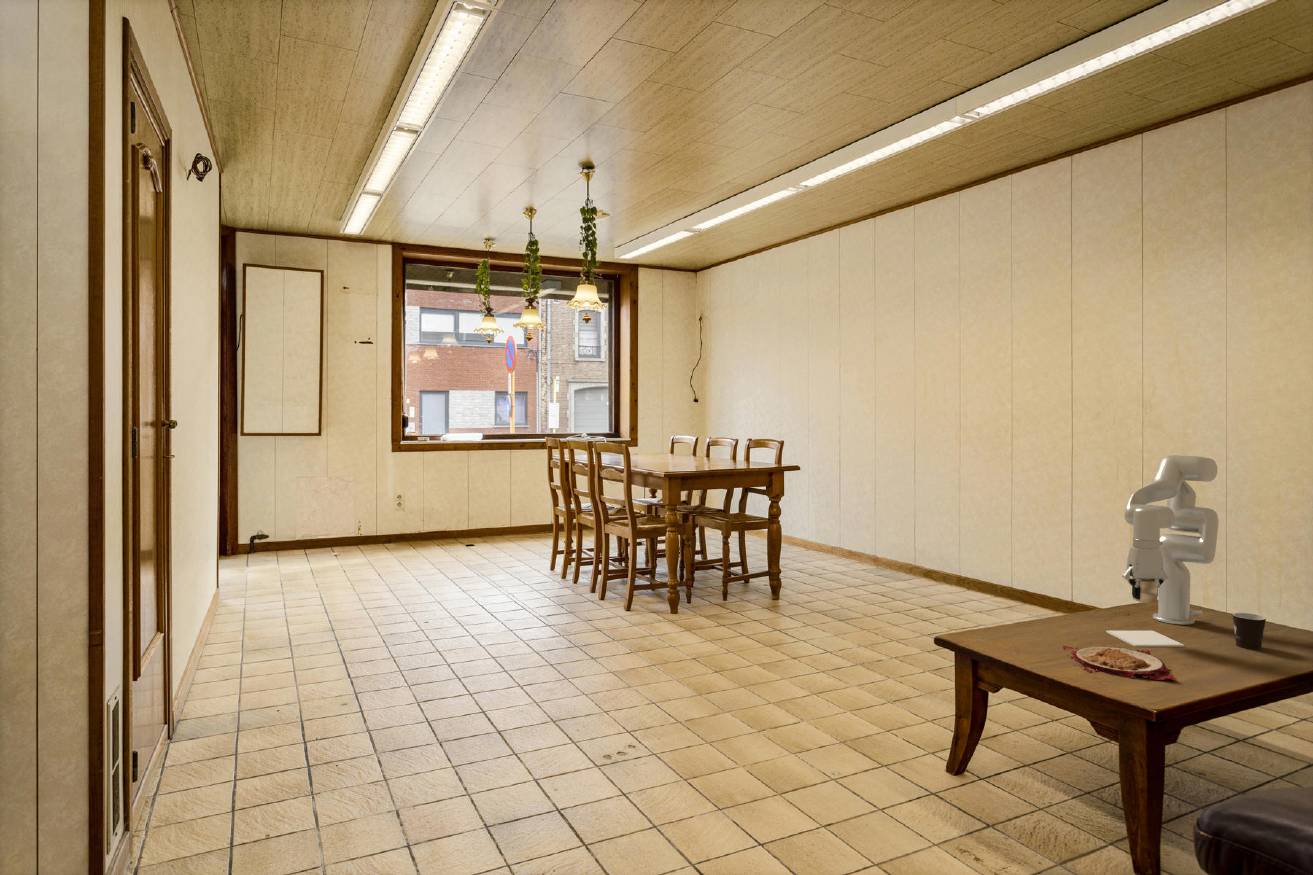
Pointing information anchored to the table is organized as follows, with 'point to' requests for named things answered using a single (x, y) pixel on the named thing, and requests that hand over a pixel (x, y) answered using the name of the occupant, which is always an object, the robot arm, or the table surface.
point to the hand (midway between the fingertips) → (1144, 597)
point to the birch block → (1148, 591)
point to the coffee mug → (1248, 630)
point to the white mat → (1145, 639)
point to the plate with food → (1121, 662)
